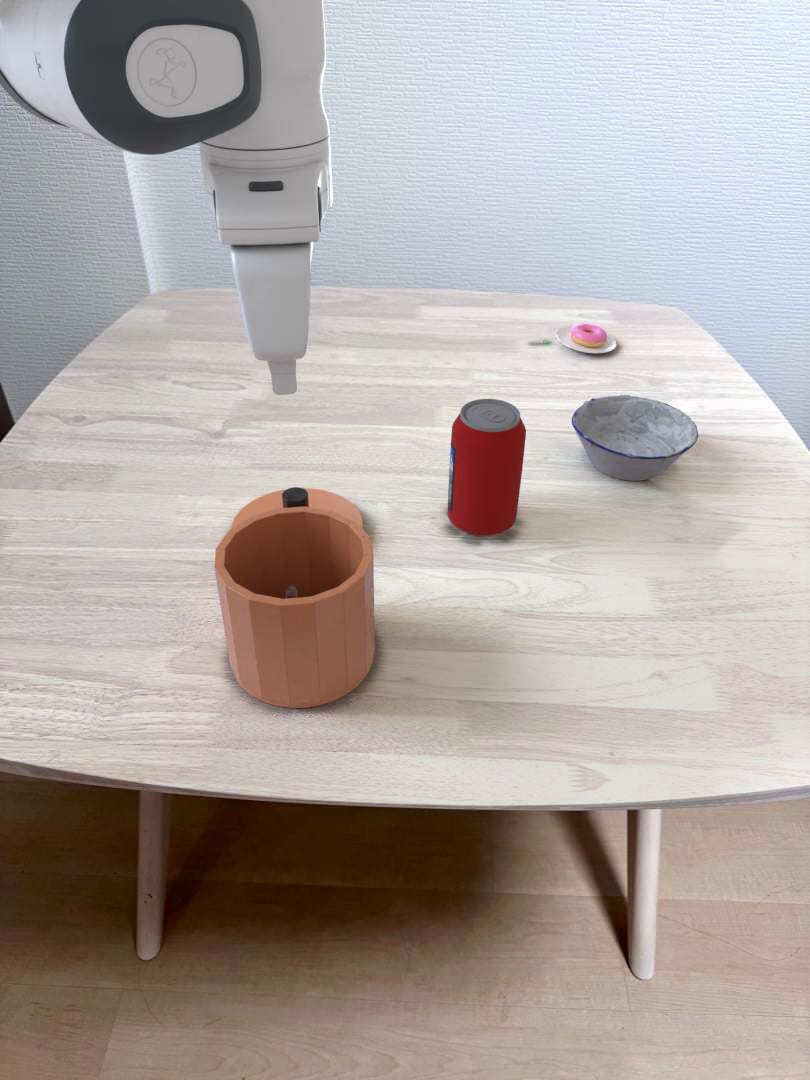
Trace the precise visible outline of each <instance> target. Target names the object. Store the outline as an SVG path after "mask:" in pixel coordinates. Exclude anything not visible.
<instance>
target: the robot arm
mask: <svg viewBox="0 0 810 1080" xmlns="http://www.w3.org/2000/svg"><path fill="white" fill-rule="evenodd" d="M325 25H326V23H325V11H324V0H0V86H1V88H3V90H4V91H5V93H7V95H9V97H10V98H11V99H12V100H14V102H16V103H17V104H18V105H19V106H20V107H21V108H23V109H24V110H25V111H26V112H28V113H30V114H31V115H33V116H35V117H36V118H38V119H40V120H43V121H45V122H47V123H50V124H53V125H57V126H61V127H65V128H69V129H72V130H73V131H76V132H78V133H80V134H83V135H85V136H87V137H89V138H91V139H93V140H96V141H100V142H101V143H103V144H106V145H108V146H110V147H112V148H115V149H116V150H119V151H123V152H126V153H130V154H133V155H135V154H136V155H146V156H147V155H149V156H150V155H151V156H154V155H155V156H156V155H163V154H168V153H171V152H176V151H179V150H182V149H185V148H187V147H190V146H194V145H196V144H198V146H199V147H198V148H199V154H200V155H199V156H200V162H201V170H202V178H203V184H204V185H203V186H204V192H205V193H204V194H205V199H206V201H205V202H206V207H207V209H208V211H209V212H210V213H211V214H212V217H213V218H214V220H215V225H216V226H215V227H216V233H217V237H218V238H217V239H218V242H219V243H220V244H221V245H223V246H228V247H229V255H230V262H231V268H232V272H233V278H234V282H235V288H236V292H237V297H238V302H239V307H240V312H241V316H242V321H243V325H244V329H245V330H244V331H245V333H246V337H247V341H248V344H249V348H250V351H251V353H252V355H253V357H254V359H256V360H257V361H260V362H261V361H262V362H267V365H268V369H269V371H270V372H269V373H270V378H271V387H272V392H273V394H275V395H277V396H285V395H287V396H288V395H294V394H296V393H297V390H298V383H297V360H299V359H302V358H304V357H305V356H306V353H307V349H308V343H309V342H308V341H309V331H310V330H309V329H310V308H311V307H310V306H311V281H312V264H313V263H312V261H313V252H314V251H313V250H314V243H315V242H316V243H317V242H318V241H319V240H320V238H321V232H322V222H323V219H324V218H325V216H326V214H327V211H328V210H330V208H331V207H332V206H333V203H334V199H333V195H334V193H333V176H332V175H333V174H332V154H331V152H332V151H331V131H330V130H331V129H330V124H329V120H328V116H327V113H326V111H325V106H324V102H323V91H322V90H323V81H324V75H325V70H326V65H327V44H326V26H325Z"/></svg>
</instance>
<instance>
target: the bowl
mask: <svg viewBox="0 0 810 1080" xmlns="http://www.w3.org/2000/svg"><path fill="white" fill-rule="evenodd" d="M571 425H572V427H573V429H574V431H575V433H576V435H577V437H578V439H579V441H580V443H581V445H582V448H583V449H584V451H585V453H586V455H587V456H588V459H589V460H590V463H591V464H592V465H593V467H595V469H596V470H598V471H600V472H601V473H603V474H604V475H606V476H609V477H611V478H614V479H618V480H622V481H634V482H640V481H646V480H652V479H655V478H656V477H659V476H660V475H662V473H664V472H665V471H666V470H668V468H669V467H671V466H672V465H673V464H674V463H675V462H676V461H677V460H678V459H679V458H680V457H682V456H683V455H684V454H685V453H687V452H688V451H690V449H692V447H693V446H694V445H695V444H696V443H697V441H698V439H699V430H698V427H697V424H696V422H695V421H694V420H693V419H692V418H691V417H690V415H689V416H688V415H687V414H686V413H684V411H682V410H680V409H678V408H677V407H674V406H672V405H670V404H668V403H666V402H663V401H660V400H656V399H651V398H646V397H639V396H633V395H630V394H620V395H609V396H601V397H597V398H594V397H593V398H591V399H590V400H585V401H584V402H583V404H582V405H581V406H579V407H578V408H577V409H576V410H575V411H574V413H573V415H572V416H571Z"/></svg>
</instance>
